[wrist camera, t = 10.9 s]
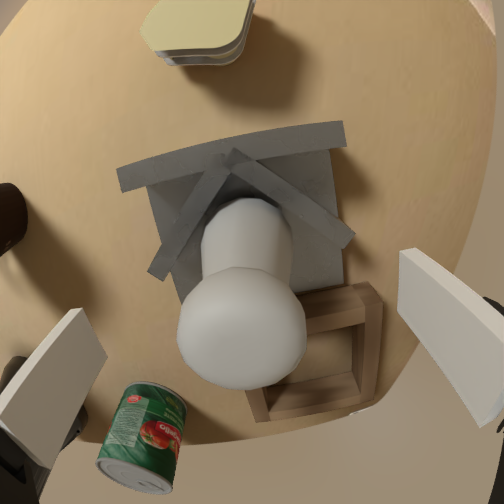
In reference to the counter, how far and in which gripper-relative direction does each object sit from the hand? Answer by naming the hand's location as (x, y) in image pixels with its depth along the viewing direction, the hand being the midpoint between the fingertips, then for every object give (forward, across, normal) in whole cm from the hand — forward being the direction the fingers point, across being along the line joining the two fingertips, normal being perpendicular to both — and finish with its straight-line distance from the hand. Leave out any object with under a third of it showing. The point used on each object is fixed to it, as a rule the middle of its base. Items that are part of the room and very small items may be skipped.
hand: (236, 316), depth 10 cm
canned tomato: (+12, -14, -18) cm, 26 cm away
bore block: (+12, +4, -12) cm, 17 cm away
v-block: (+12, 0, +1) cm, 12 cm away
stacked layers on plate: (+12, +1, +15) cm, 20 cm away
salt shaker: (+11, 0, 0) cm, 11 cm away
